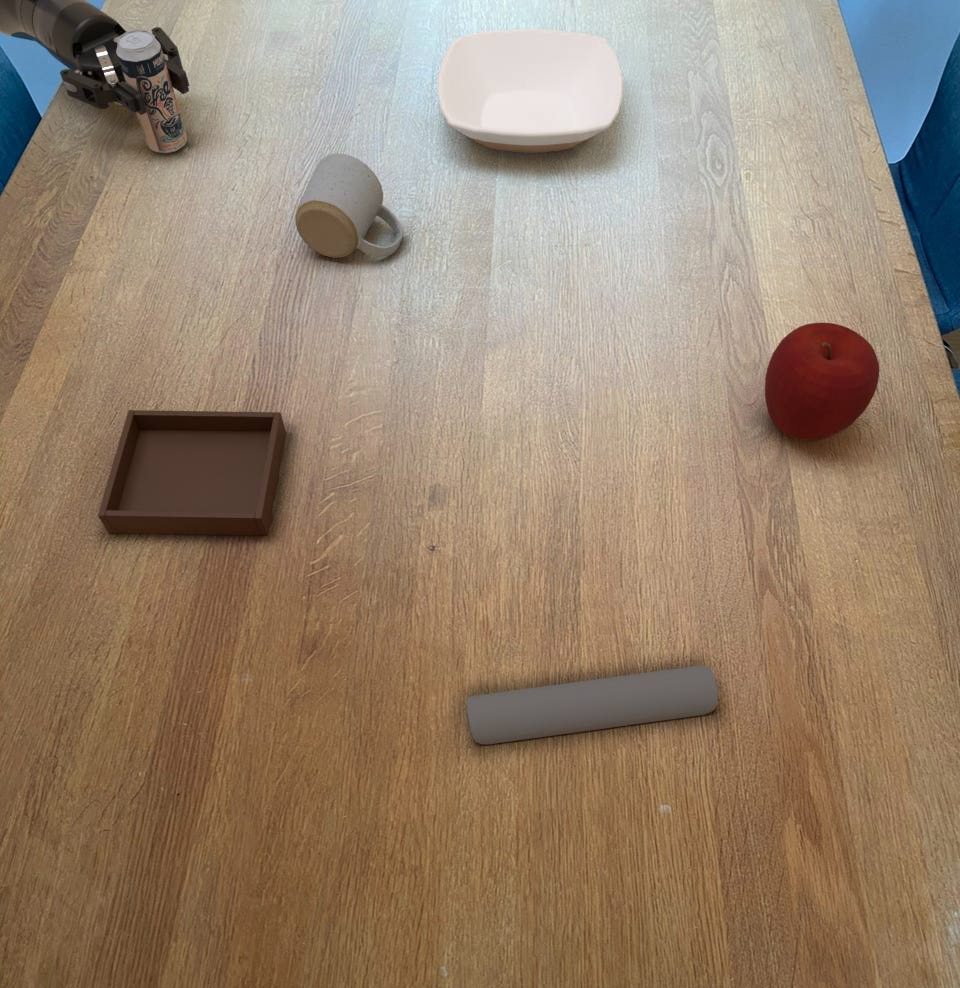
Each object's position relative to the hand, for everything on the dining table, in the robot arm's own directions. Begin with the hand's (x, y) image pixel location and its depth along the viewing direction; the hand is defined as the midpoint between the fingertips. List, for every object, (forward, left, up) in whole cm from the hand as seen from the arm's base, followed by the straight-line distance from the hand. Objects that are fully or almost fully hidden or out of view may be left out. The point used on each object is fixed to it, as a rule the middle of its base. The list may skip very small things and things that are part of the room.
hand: (163, 94), depth 105 cm
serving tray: (+11, -49, -7) cm, 51 cm away
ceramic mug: (+22, -15, -7) cm, 28 cm away
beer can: (-2, +2, -7) cm, 8 cm away
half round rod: (+46, -71, -7) cm, 85 cm away
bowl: (+41, +7, -7) cm, 42 cm away
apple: (+67, -41, -7) cm, 79 cm away
